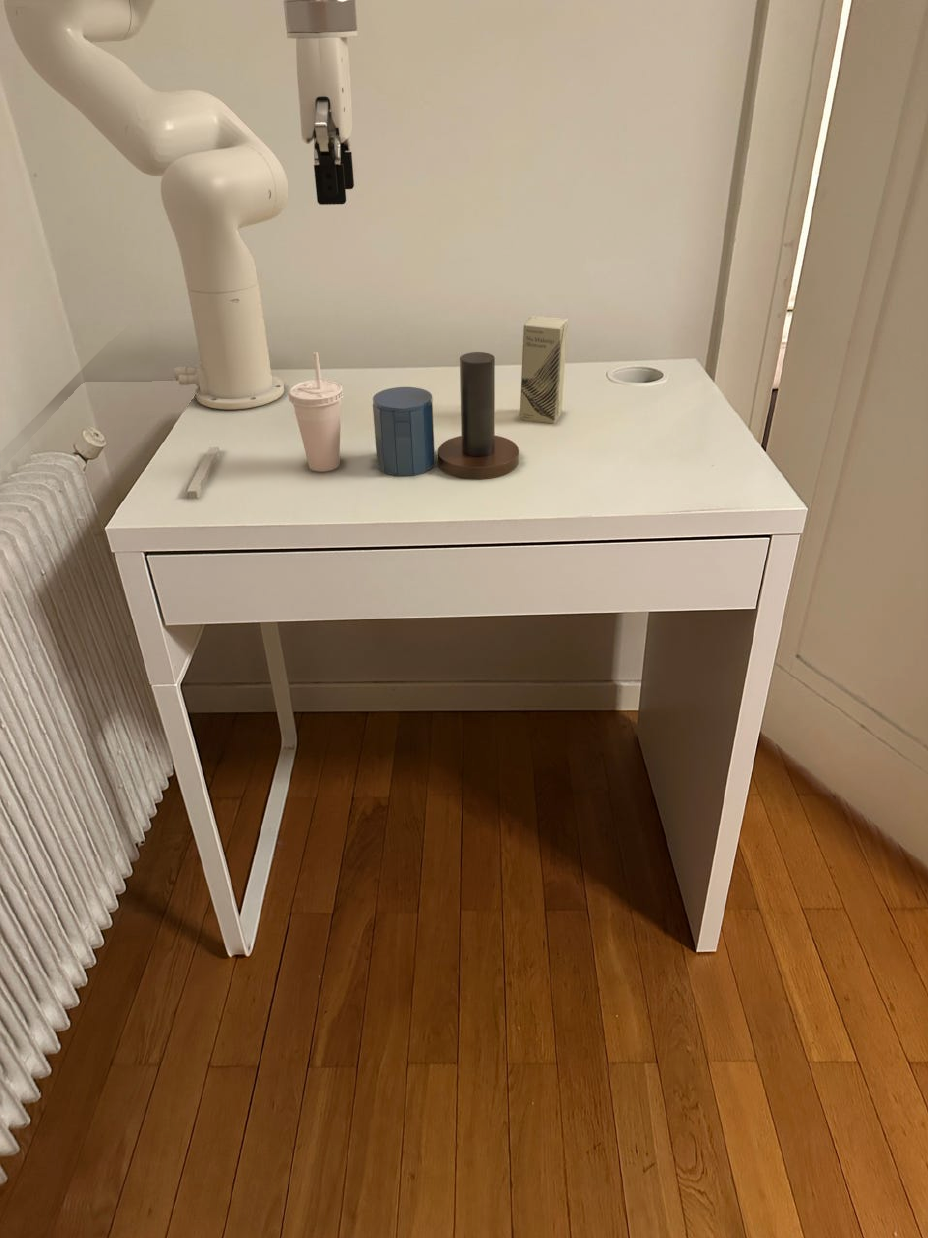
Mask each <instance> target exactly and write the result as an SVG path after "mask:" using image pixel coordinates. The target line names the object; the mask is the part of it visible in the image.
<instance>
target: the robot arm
mask: <svg viewBox="0 0 928 1238" xmlns="http://www.w3.org/2000/svg"><path fill="white" fill-rule="evenodd" d="M156 2H157V0H3V6H4V12H5V16H6V20H7V23H8V26H9V28H10V31H11V34H12V36H13V38H14V40H15V42H16V44H17V46H18V48H19V50H20V52H21V53H22V55H23V56H24V58H25V60H26V61H27V63H28V64H29V65H30V66H31V68H32V69H33V70H34V71H35V72H36V74H37V75H38V76H39V77H40V78H41V79H42V80H43V81H44V82H45V83H46V84H47V85H48V86H50V87H51V88H52V89H53V90H54V91H55V92H57V93H58V94H59V95H60V96H61V97H62V98H64V99H65V101H67V102H69V103H70V104H71V105H72V106H73V107H74V108H76V110H78V111H80V113H81V114H82V115H83V116H84V117H85V118H86V119H87V120H88V121H89V122H90V123H91V125H93V127H94V128H96V129H97V130H98V132H99V133H100V134H101V135H102V136H103V137H104V138H106V140H107V141H108V142H109V143H111V145H112V146H113V147H114V148H115V149H116V150H117V151H118V152H119V153H120V154H121V155H122V156H123V157H124V158H125V159H126V160H127V161H128V162H129V163H130V164H131V165H132V166H134V167H135V168H136V169H137V170H138V171H140V172H141V173H143V174H144V175H148V176H151V177H161V181H160V196H161V200H162V204H163V207H164V211H165V213H166V216H167V218H168V221H169V224H170V226H171V227H170V228H171V229H172V232H173V235H174V237H175V242H176V244H177V248H178V252H179V256H180V260H181V265H182V269H183V274H184V275H183V276H184V279H185V284H186V288H187V294H188V299H189V305H190V308H191V316H192V321H193V326H194V332H195V337H196V341H197V342H196V343H197V347H198V354H199V358H200V364H196V365H195V367H189V366H175V367H174V369H173V376H174V379H175V381H178V383H179V385H181V386H185V385H186V386H187V385H195V386H197V387H196V389H195V397H196V400H197V402H198V403H199V404H201V405H202V406H205V407H207V408H212V409H217V410H244V409H250V408H251V409H252V408H256V407H260V406H264V405H267V404H270V403H272V402H274V401H276V400H277V399H280V397H281V396H283V394H284V393H285V384H284V381H283V380H282V378H280V377H278V376H276V375H273V374H272V369H271V362H270V361H271V360H270V353H269V346H268V339H267V333H266V332H267V331H266V327H265V325H266V324H265V319H264V312H263V306H262V305H263V304H262V298H261V291H260V290H261V289H260V285H259V279H258V271H257V267H256V264H255V259H254V258H253V257H254V256H253V255H252V254H251V252H250V250H249V248H248V246H247V245H246V243H245V242H244V241H243V239H242V238H241V235H240V234H239V231H238V230H240V229H242V228H245V227H249V226H253V225H257V224H260V223H264V222H267V221H270V220H272V219H274V218H276V217H277V216H278V215H280V214H281V213H282V212H283V211H284V210H285V207H286V206H287V203H288V200H289V195H290V194H289V193H290V189H289V181H288V178H287V175H286V172H285V170H284V168H283V166H282V164H281V162H280V161H279V160H278V157H277V156H276V155H275V153H273V151H272V150H271V149H270V148H269V147H268V146H267V145H266V143H264V142H263V141H262V140H261V138H260V137H259V136H258V135H256V134H255V133H254V132H253V131H252V130H251V128H250V127H248V126H247V125H246V123H244V121H242V120H241V118H240V117H238V115H237V114H236V113H234V112H233V111H232V109H230V107H228V106H227V105H226V104H225V103H224V102H223V101H222V100H220V99H219V98H218V97H217V96H214V95H212V93H211V94H210V93H209V92H206V91H203V90H199V89H179V90H169V91H165V90H157V89H155V88H152V87H151V86H149V85H148V84H147V83H145V82H144V81H143V80H142V79H141V78H140V77H139V76H137V74H136V73H135V72H134V71H133V70H132V69H131V68H130V67H129V66H128V65H127V64H126V63H124V61H122V60H121V59H119V58H118V57H117V56H115V55H114V54H111V53H110V52H108V51H106V50H105V49H104V48H103V49H102V48H100V47H99V46H97V45H95V44H93V43H106V42H107V43H110V42H123V41H127V40H131V39H132V38H134V37H135V36H137V35H138V34H139V33H140V32H141V31H142V29H143V28H144V27H145V25H146V24H147V21H148V19H149V18H150V15H151V13H152V11H153V9H154V6H155V5H156ZM356 6H357V5H356V0H283V8H284V18H285V19H284V20H285V28H286V38H287V39H295V57H296V78H297V90H298V102H299V103H298V105H299V119H300V133H301V140H302V142H304V143H305V144H307V145H308V144H309V145H310V144H311V143H312V142H313V159H314V160H313V161H314V164H313V167H314V168H313V169H314V171H313V172H314V179H315V181H314V182H315V191H316V200H317V201H316V202H317V204H319V205H320V206H328V205H329V206H330V205H345V204H346V202H347V190H353V188H354V187H355V181H354V180H355V179H354V169H353V167H354V166H353V156H352V151H351V145H350V136H351V134H352V131H353V107H352V105H353V103H352V86H351V71H350V70H351V69H350V59H349V57H350V56H349V47H348V38H353V37H354V38H356V37H358V34H359V33H358V21H357V9H356Z"/></svg>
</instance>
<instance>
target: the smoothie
mask: <svg viewBox="0 0 928 1238" xmlns="http://www.w3.org/2000/svg"><path fill="white" fill-rule="evenodd" d="M312 354H313V360H314V361H313V362H314V371H315V379H316V380H307V381H302V382H299V383H297V384H295V385H292V386H291V387H290V388H289V389H288V401H289V402H290V403H291V404H292V406H293V409H294V410H293V411H294V413H295V418H296V421H297V425H298V430H299V433H300V437H301V441H302V444H303V449H304V452H305V455H306V460H307V463H308V467H309V469H310V470H312V471H314V472H323V473H324V472H330V471H333V470H336V469H337V468H339V467H340V458H341V457H340V452H341V419H342V418H341V415H342V400H343V398H344V396H345V395H344V391H343V386H342V385H341V384H340V383H338V382H336V381H332V380H326V379H325V380H324V379H322V373H321V363H320V357H319V352H318V351H314V352H313V353H312Z"/></svg>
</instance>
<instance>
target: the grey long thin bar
mask: <svg viewBox="0 0 928 1238" xmlns="http://www.w3.org/2000/svg"><path fill="white" fill-rule="evenodd" d="M220 454H221V451H220V447H219V446H210V447H208V449H207V451H206V453H205V455H204V457H203V459H202V461H201V462H200V465H199V467H198V469H197V471H196V473H195V474H194V476H193V478H192V480H191V482H190V483H189V486H188V487H187V489H186V495H187V496H186V497H187V499H188V500H195V499H199V497H200V496H201V494H202V491H203V489H204V487H205V486H206V483H207V481H208V479H209V477H210V475H211V473H212V471H213V469H214V467H215V465H216V463H217V461H218V459H219V457H220Z"/></svg>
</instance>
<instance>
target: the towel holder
mask: <svg viewBox="0 0 928 1238" xmlns="http://www.w3.org/2000/svg"><path fill="white" fill-rule="evenodd" d="M495 364H496V361H495V356H494V355H493V354H492V353H489V352H485V351H483V352H482V351H471V352H466V353H464V354H462V355H460V356H459V373H460V374H459V382H460V424H461V427H460V430H461V433H460V434H461V435H460V436H456V437H452V438H450V439H447V440H445V441H444V442H443V443H441V444H440V445H439V446H438V448H437V465H438V468H440V469H441V471H443V472H444V473H445V474H448V475H450V476H453V477H456V478H461V479H466V480H467V479H468V480H488V479H494V478H498V477H503V476H505V475H508V474H510V473H512V472H513V471H515V469H517V468H518V466H519V464H520V449H519V446H518V445H517V443H516V442H514V441H513V440H510V439H508V438H506V437H503V436H499V435H495V434H496V433H495V429H496V427H495V426H496V425H495V421H496V419H495V418H496V416H495V411H496V410H495V408H496V407H495V406H496V405H495V404H496V403H495V402H496V401H495V398H496V397H495V394H496V393H495V391H496V390H495V388H496V387H495V385H496V384H495V377H496V376H495V375H496V374H495V373H496V371H495V369H496V365H495Z"/></svg>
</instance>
